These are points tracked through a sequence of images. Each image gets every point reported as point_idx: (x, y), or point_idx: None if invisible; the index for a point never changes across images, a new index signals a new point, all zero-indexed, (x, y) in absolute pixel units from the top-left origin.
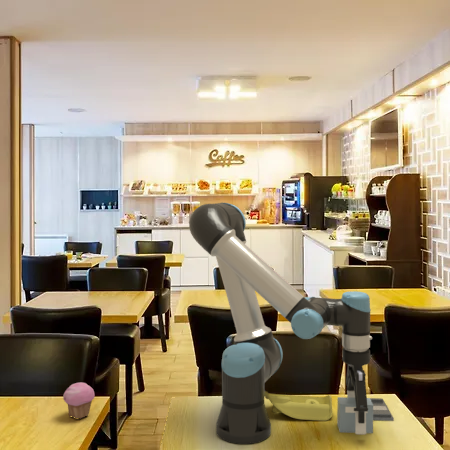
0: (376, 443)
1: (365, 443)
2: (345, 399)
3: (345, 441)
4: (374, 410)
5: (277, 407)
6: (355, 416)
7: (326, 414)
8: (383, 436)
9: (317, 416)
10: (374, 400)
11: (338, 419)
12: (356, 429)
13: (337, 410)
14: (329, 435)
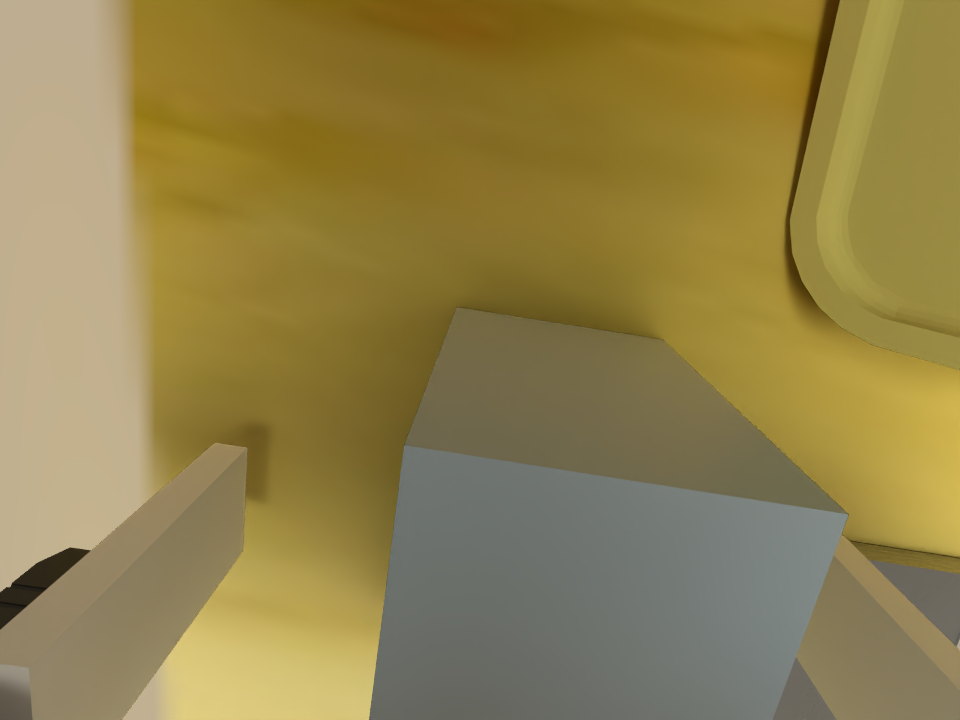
0: None
1: None
2: (667, 640)
3: (229, 304)
4: None
5: None
6: (98, 570)
7: (886, 259)
8: (340, 678)
9: (888, 119)
10: None
11: (578, 351)
12: (186, 475)
13: (722, 397)
14: (381, 160)
